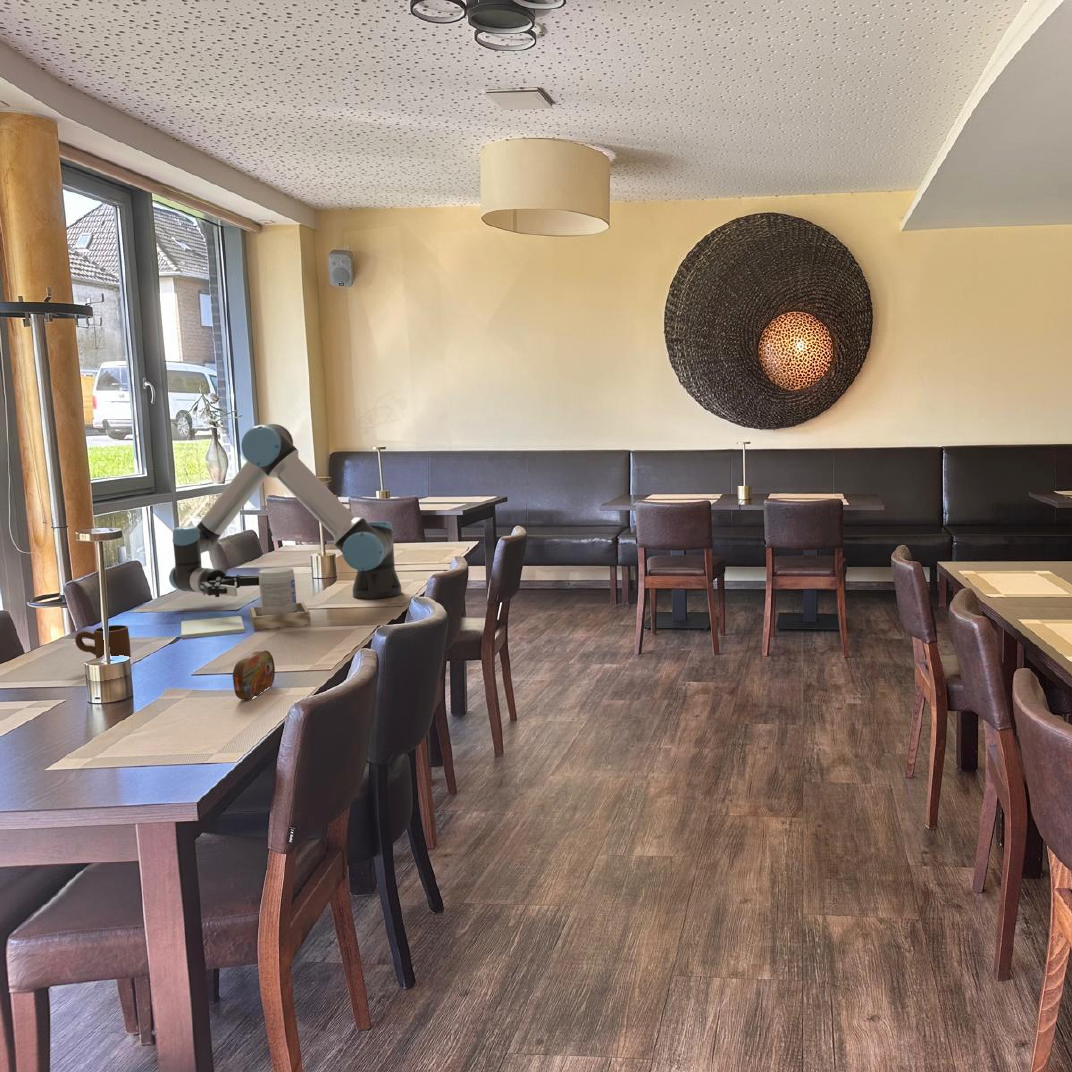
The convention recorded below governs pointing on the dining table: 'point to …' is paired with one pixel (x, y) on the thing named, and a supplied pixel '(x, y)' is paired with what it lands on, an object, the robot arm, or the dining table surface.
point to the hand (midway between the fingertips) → (255, 587)
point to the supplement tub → (277, 591)
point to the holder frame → (280, 618)
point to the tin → (253, 674)
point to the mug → (117, 641)
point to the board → (211, 627)
